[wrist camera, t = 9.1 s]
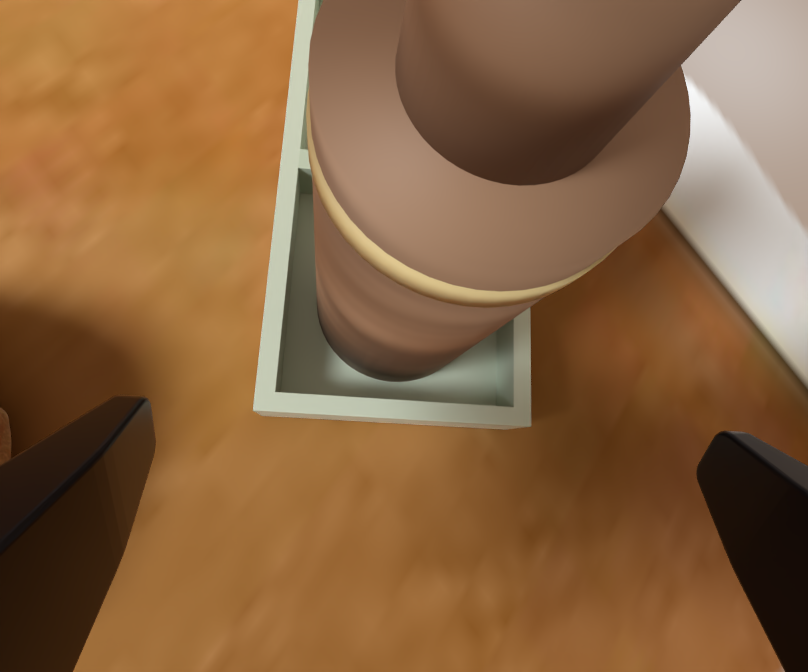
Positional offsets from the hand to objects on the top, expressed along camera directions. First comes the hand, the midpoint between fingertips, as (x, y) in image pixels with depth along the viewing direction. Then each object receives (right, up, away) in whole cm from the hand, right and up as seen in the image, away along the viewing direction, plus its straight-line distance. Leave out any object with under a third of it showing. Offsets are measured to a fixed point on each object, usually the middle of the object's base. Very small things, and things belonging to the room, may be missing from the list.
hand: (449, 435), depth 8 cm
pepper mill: (-1, +3, +8) cm, 8 cm away
